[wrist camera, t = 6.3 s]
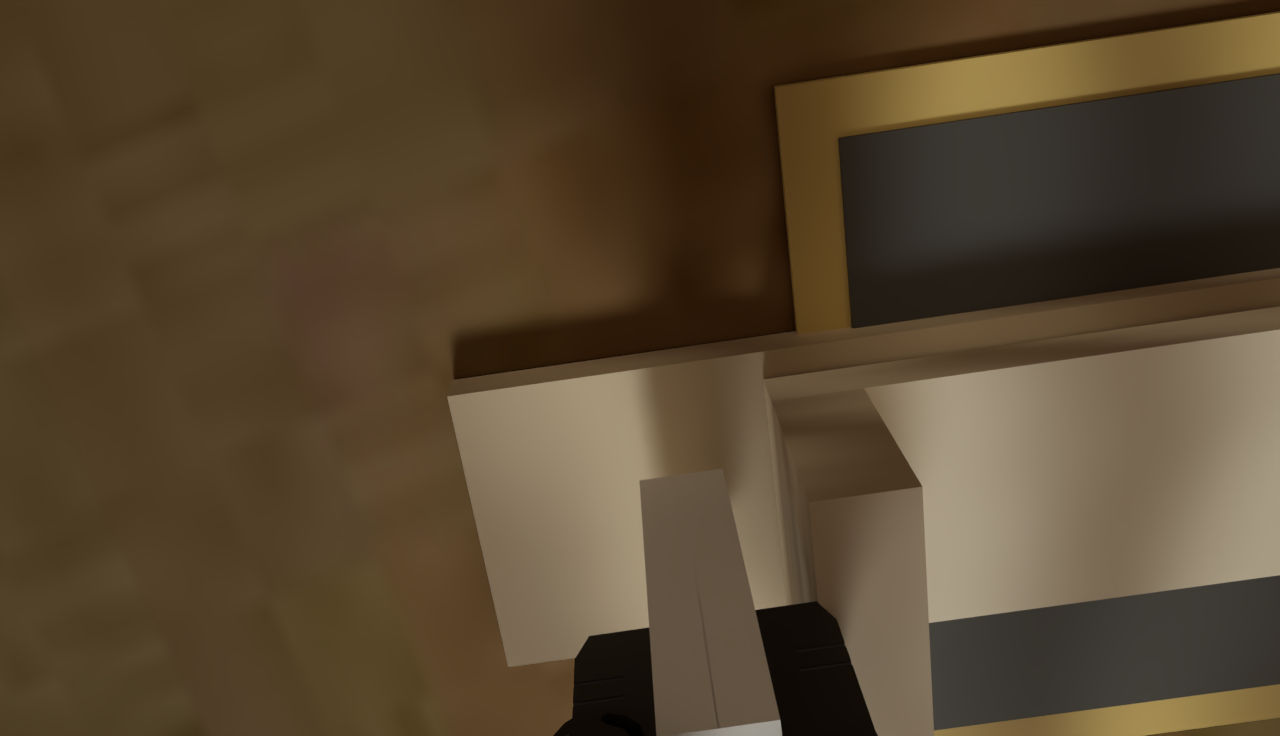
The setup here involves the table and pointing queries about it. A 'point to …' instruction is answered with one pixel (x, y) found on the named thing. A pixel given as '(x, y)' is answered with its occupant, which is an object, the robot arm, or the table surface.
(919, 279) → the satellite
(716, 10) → the table surface
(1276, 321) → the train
